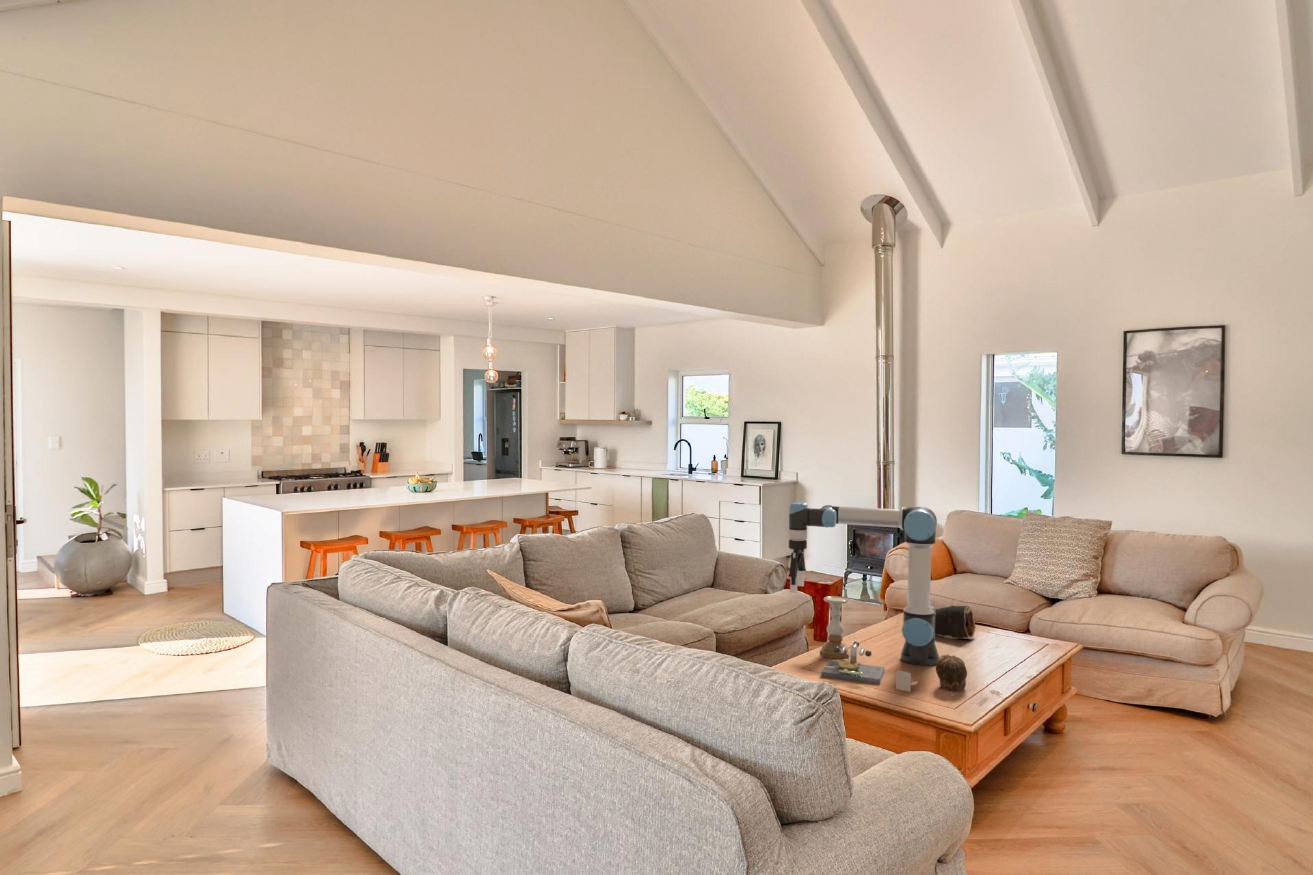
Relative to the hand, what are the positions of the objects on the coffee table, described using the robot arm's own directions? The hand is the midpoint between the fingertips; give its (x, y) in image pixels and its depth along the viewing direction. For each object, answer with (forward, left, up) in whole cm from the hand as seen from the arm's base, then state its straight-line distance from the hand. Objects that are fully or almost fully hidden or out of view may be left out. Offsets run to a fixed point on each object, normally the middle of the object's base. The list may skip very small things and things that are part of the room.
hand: (797, 589), depth 332 cm
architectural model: (-46, +27, -29) cm, 60 cm away
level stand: (-26, +17, -28) cm, 42 cm away
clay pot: (-57, -58, -28) cm, 86 cm away
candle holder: (-15, -7, -28) cm, 33 cm away
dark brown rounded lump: (-62, +18, -28) cm, 70 cm away
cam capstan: (-26, +15, -26) cm, 40 cm away
